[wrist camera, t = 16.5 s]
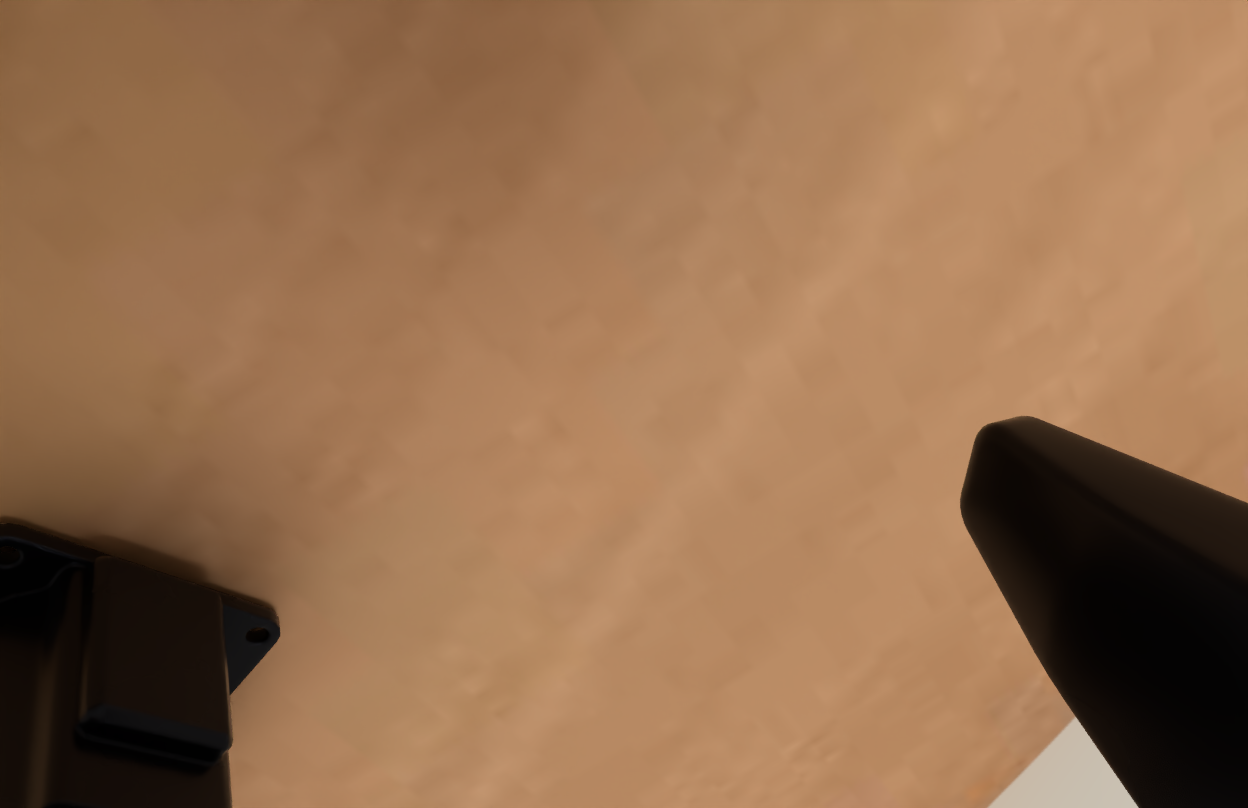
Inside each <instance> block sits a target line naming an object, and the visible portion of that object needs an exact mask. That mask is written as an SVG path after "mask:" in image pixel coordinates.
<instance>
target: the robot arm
mask: <svg viewBox="0 0 1248 808" xmlns="http://www.w3.org/2000/svg"><path fill="white" fill-rule="evenodd" d="M960 508H961V514H962V518H963V521H964V524H965V526H966V528H967V530H968V532H969V534H970V536H971V537H972V539H973V541H974V543H975V545H976V547H977V548H978V550H979V552H980V554H981V556H982V557H983V559H984V561H985V563H986V565H987V567H988V568H989V570H990V572H991V574H992V576H993V577H994V579H995V581H996V583H997V585H998V587H999V588H1000V590H1001V592H1002V594H1003V596H1004V597H1005V599H1006V601H1007V603H1008V605H1009V607H1010V608H1011V610H1012V612H1013V614H1014V616H1015V618H1016V619H1017V621H1018V623H1019V625H1020V627H1021V628H1022V630H1023V632H1024V634H1025V636H1026V638H1027V639H1028V641H1029V643H1030V645H1031V647H1032V648H1033V650H1034V652H1035V654H1036V655H1037V657H1038V659H1039V660H1040V662H1041V664H1042V666H1043V667H1044V669H1045V671H1046V672H1047V674H1048V676H1049V677H1050V679H1051V680H1052V682H1053V683H1054V685H1055V686H1056V688H1057V689H1058V691H1059V693H1060V694H1061V696H1062V697H1063V699H1064V700H1065V702H1066V703H1067V705H1068V706H1069V707H1070V709H1071V710H1072V712H1073V713H1074V715H1075V716H1076V718H1077V719H1078V720H1079V722H1080V723H1081V725H1082V726H1083V728H1084V729H1085V731H1086V732H1087V734H1088V735H1089V736H1090V738H1091V739H1092V741H1093V742H1094V743H1095V745H1096V746H1097V748H1098V749H1099V751H1100V752H1101V754H1102V755H1103V757H1104V758H1105V760H1106V761H1107V762H1108V764H1109V765H1110V767H1111V768H1112V770H1113V771H1114V773H1115V774H1116V775H1117V777H1118V778H1119V780H1120V781H1121V783H1122V784H1123V785H1124V787H1125V789H1126V790H1127V791H1128V793H1129V794H1130V796H1131V797H1132V799H1133V800H1134V802H1135V803H1136V804H1137V806H1138V807H1139V808H1248V503H1246V502H1244V501H1241V500H1239V499H1236V498H1234V497H1231V496H1229V495H1226V494H1224V493H1221V492H1219V491H1216V490H1214V489H1211V488H1209V487H1206V486H1204V485H1201V484H1199V483H1196V482H1194V481H1191V480H1189V479H1186V478H1184V477H1181V476H1179V475H1176V474H1174V473H1171V472H1169V471H1167V470H1164V469H1162V468H1159V467H1157V466H1154V465H1152V464H1149V463H1147V462H1144V461H1142V460H1139V459H1137V458H1134V457H1132V456H1129V455H1127V454H1124V453H1122V452H1119V451H1117V450H1114V449H1112V448H1109V447H1107V446H1104V445H1102V444H1099V443H1097V442H1094V441H1092V440H1090V439H1087V438H1085V437H1082V436H1080V435H1077V434H1075V433H1072V432H1070V431H1067V430H1065V429H1062V428H1060V427H1057V426H1055V425H1052V424H1050V423H1047V422H1045V421H1042V420H1040V419H1037V418H1034V417H1030V416H1019V417H1015V418H1011V419H1007V420H1002V421H998V422H994V423H990V424H987V425H986V426H984V427H983V428H982V429H981V430H980V431H979V432H978V434H977V436H976V438H975V441H974V445H973V449H972V453H971V457H970V461H969V465H968V469H967V473H966V477H965V481H964V484H963V488H962V492H961V498H960ZM4 546H6V547H13V548H14V549H16V551H14V552H9V553H7V552H0V808H232V796H231V782H230V768H229V753H228V750H229V749H230V747H231V746H232V743H233V732H232V719H231V706H230V695H231V694H232V693H233V691H234V690H235V689H236V688H237V687H238V686H239V684H240V683H241V682H242V681H243V680H244V679H245V678H246V676H247V675H248V674H249V673H250V672H251V671H252V670H253V668H254V667H255V666H256V665H257V664H258V663H259V662H260V660H261V659H262V658H263V657H264V656H265V655H266V653H267V652H268V651H269V650H270V649H271V648H272V647H273V645H274V644H275V643H276V642H277V640H278V639H279V637H280V625H279V618H278V616H277V614H276V613H275V611H273V610H271V609H269V608H267V607H264V606H261V605H258V604H255V603H252V602H249V601H246V600H243V599H240V598H237V597H234V596H231V595H228V594H225V593H222V592H219V591H216V590H213V589H210V588H207V587H204V586H201V585H198V584H195V583H192V582H189V581H186V580H183V579H180V578H177V577H174V576H171V575H168V574H165V573H162V572H159V571H156V570H153V569H150V568H147V567H144V566H141V565H138V564H135V563H132V562H129V561H126V560H123V559H120V558H117V557H114V556H111V555H108V554H105V553H102V552H99V551H96V550H93V549H90V548H87V547H84V546H81V545H78V544H75V543H72V542H69V541H66V540H63V539H60V538H57V537H54V536H51V535H48V534H45V533H42V532H39V531H36V530H33V529H30V528H27V527H24V526H21V525H16V524H11V523H6V524H0V547H4ZM257 627H260V628H263V629H261V630H257V631H251V629H253V628H257Z"/></svg>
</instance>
